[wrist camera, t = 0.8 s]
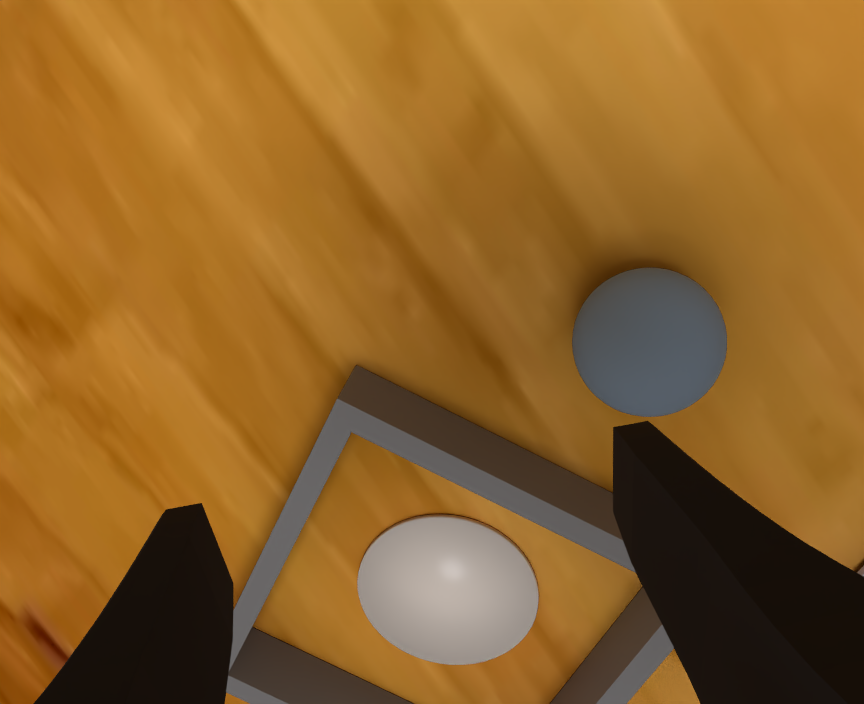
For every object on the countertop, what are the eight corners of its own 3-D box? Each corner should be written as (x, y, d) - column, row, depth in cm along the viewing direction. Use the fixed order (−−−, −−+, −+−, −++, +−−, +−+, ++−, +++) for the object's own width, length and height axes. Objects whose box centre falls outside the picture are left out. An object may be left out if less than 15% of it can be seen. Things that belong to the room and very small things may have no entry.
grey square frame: (708, 541, 32) (723, 590, 29) (521, 771, 39) (518, 829, 36) (356, 364, 31) (337, 398, 28) (225, 631, 38) (199, 679, 35)
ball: (740, 290, 28) (777, 343, 23) (662, 400, 30) (682, 469, 25) (616, 225, 28) (628, 266, 23) (545, 340, 30) (545, 400, 25)
